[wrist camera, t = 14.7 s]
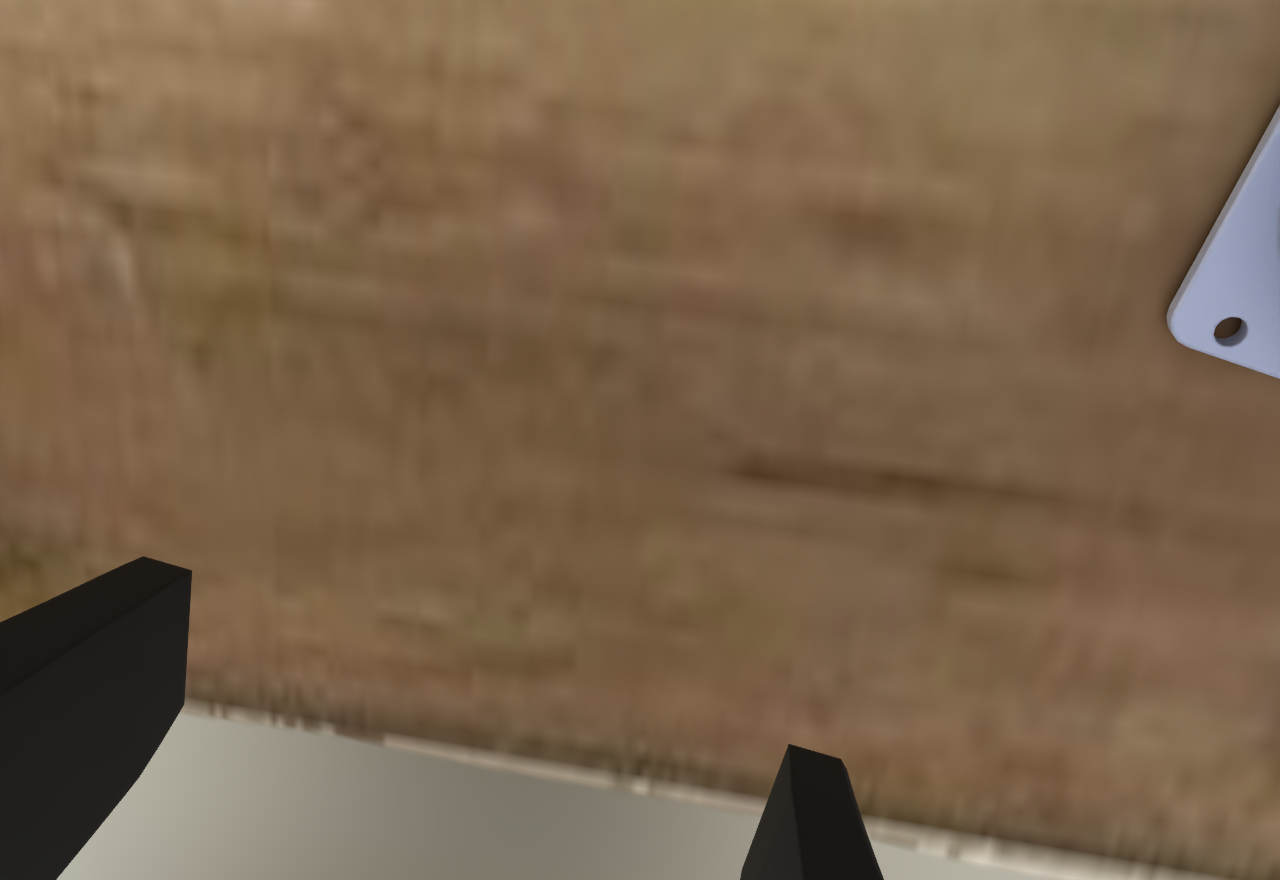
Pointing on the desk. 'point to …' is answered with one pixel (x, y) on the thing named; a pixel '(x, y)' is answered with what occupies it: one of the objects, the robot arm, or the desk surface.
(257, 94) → the desk surface
